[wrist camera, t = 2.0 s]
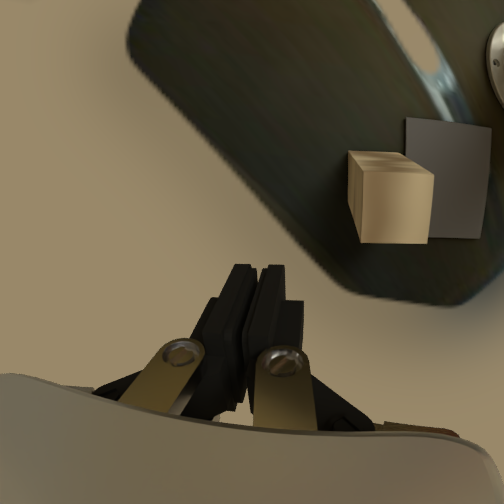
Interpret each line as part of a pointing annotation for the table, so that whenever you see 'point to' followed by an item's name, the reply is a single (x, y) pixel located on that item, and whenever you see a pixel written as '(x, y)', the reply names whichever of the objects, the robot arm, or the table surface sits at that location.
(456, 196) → the mat
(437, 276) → the table surface
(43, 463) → the robot arm
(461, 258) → the table surface
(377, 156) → the maple block
